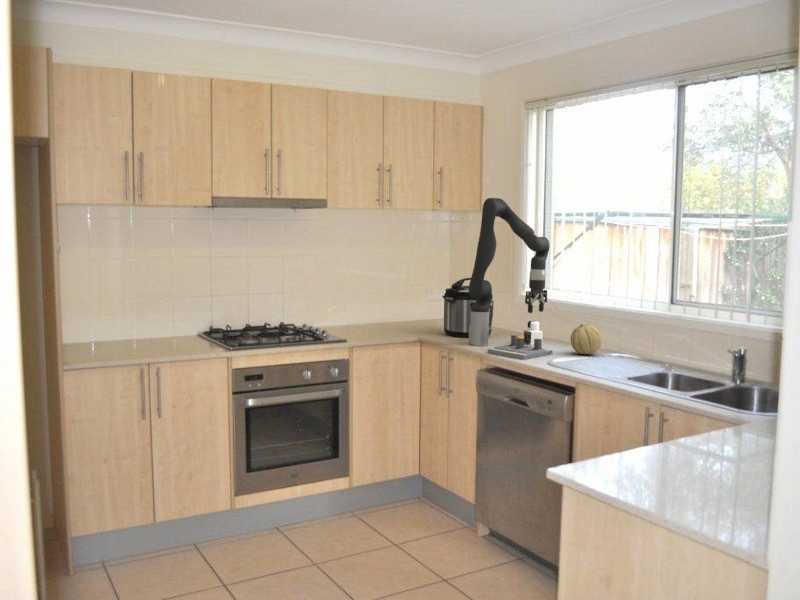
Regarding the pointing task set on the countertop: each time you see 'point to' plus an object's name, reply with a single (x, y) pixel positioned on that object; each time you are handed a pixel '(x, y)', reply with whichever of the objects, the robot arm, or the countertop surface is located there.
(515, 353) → the panel
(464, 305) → the pressure cooker
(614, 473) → the countertop surface
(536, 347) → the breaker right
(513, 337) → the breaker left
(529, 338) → the medicine bottle
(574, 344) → the cantaloupe
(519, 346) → the post
